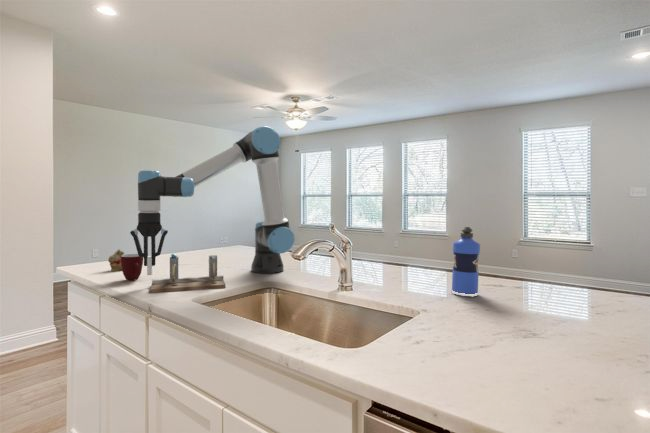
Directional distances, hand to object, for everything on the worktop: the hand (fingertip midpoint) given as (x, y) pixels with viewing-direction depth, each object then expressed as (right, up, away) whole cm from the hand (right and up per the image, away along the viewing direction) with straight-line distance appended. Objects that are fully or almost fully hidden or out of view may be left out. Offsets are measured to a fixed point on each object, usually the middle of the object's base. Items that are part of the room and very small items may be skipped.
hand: (149, 274), depth 137 cm
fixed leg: (+22, -2, +6) cm, 23 cm away
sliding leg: (+9, -2, +1) cm, 9 cm away
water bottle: (+118, -7, -2) cm, 118 cm away
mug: (-12, -4, +11) cm, 16 cm away
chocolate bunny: (-28, -3, +30) cm, 42 cm away
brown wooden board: (+14, -5, +2) cm, 15 cm away
